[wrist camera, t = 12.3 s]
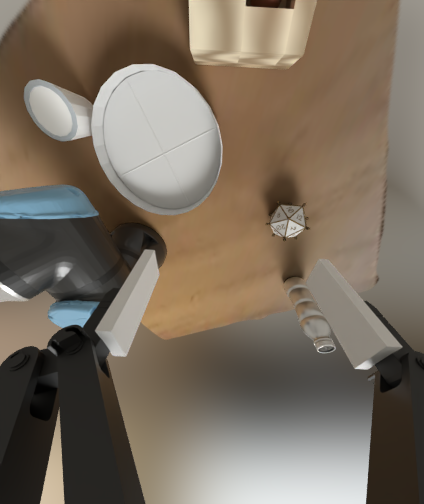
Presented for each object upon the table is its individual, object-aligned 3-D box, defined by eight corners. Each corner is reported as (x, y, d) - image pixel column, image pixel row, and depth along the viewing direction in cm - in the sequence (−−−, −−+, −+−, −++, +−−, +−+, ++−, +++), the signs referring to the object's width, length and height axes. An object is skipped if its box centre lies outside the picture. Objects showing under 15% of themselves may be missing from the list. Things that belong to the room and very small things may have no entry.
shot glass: (84, 81, 27) (48, 68, 21) (111, 131, 31) (87, 132, 25) (52, 99, 28) (10, 91, 22) (82, 145, 32) (52, 148, 26)
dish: (151, 220, 41) (144, 229, 37) (79, 113, 29) (57, 111, 25) (236, 185, 36) (239, 192, 32) (191, 37, 24) (185, 18, 20)
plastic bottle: (287, 272, 50) (320, 340, 34) (308, 276, 50) (350, 344, 34) (278, 286, 54) (304, 353, 37) (297, 289, 54) (331, 357, 38)
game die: (275, 215, 43) (268, 249, 40) (265, 192, 37) (256, 231, 34) (315, 211, 38) (311, 251, 35) (312, 184, 31) (306, 230, 28)
